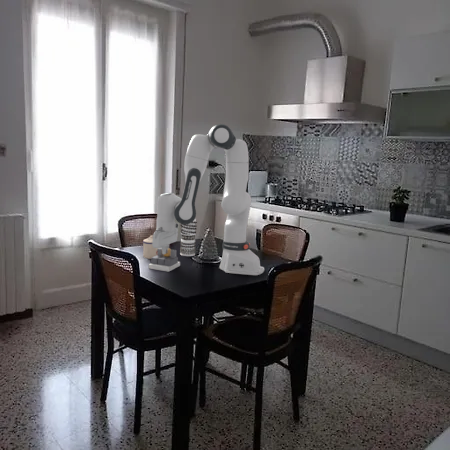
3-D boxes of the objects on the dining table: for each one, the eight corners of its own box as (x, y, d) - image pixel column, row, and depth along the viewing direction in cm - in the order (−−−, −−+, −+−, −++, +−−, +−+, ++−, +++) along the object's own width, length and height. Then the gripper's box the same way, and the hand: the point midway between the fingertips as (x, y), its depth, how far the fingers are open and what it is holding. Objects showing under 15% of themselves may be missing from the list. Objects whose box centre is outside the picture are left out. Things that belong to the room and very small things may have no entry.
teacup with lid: (159, 259, 232) (160, 237, 230) (142, 259, 231) (142, 237, 229) (159, 253, 244) (160, 233, 242) (143, 253, 243) (143, 232, 241)
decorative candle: (197, 252, 250) (198, 209, 245) (194, 256, 240) (196, 211, 236) (181, 251, 250) (182, 208, 246) (178, 255, 241) (179, 210, 237)
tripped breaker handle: (170, 255, 220) (170, 248, 220) (168, 256, 218) (168, 249, 217) (166, 254, 221) (166, 248, 221) (163, 256, 219) (163, 249, 218)
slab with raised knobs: (179, 265, 222) (180, 249, 220) (168, 271, 211) (169, 254, 209) (160, 262, 226) (160, 246, 224) (148, 268, 215) (148, 251, 213)
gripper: (161, 230, 204) (160, 259, 206) (180, 223, 223) (179, 250, 225) (149, 228, 206) (148, 257, 208) (169, 222, 225) (168, 248, 227)
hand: (164, 253), depth 217 cm, fingers closed
